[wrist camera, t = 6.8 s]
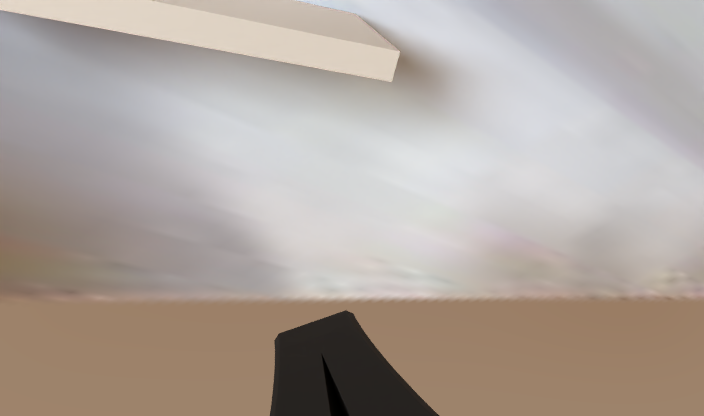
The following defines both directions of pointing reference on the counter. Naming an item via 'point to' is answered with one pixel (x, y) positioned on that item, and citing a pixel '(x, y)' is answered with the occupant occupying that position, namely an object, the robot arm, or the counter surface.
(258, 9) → the cover
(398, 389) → the robot arm
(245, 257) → the counter surface
